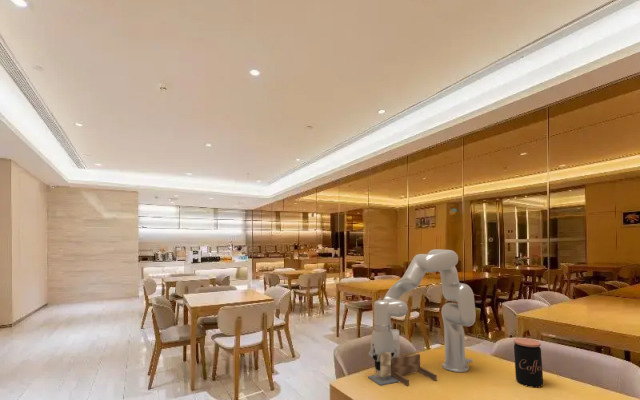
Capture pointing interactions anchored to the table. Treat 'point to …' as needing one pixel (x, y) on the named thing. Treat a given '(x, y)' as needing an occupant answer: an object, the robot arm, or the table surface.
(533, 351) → the coffee jar
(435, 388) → the table surface
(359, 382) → the table surface
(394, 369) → the wooden arch bench
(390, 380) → the coaster
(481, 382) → the table surface
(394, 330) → the milk carton
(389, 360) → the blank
